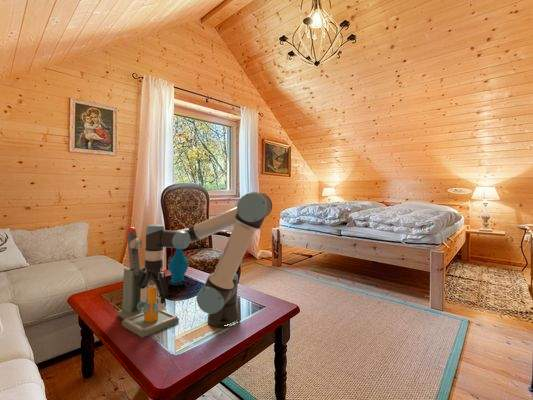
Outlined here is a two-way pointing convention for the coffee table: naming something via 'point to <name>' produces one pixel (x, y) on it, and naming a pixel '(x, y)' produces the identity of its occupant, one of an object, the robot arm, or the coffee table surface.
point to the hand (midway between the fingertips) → (152, 306)
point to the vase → (178, 267)
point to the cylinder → (150, 305)
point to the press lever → (134, 250)
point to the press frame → (135, 316)
